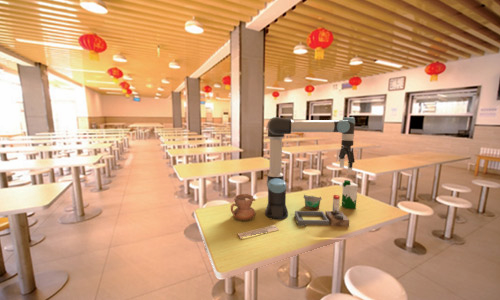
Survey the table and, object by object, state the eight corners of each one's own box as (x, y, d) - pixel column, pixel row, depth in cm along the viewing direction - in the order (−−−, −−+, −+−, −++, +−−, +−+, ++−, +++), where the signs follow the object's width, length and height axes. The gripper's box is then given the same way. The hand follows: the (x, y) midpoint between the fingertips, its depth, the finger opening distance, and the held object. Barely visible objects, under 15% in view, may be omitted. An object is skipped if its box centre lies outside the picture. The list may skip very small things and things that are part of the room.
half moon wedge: (301, 210, 147) (301, 196, 146) (303, 206, 153) (303, 193, 151) (319, 213, 142) (320, 199, 140) (321, 210, 147) (321, 196, 146)
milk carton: (339, 205, 155) (341, 179, 152) (352, 205, 155) (353, 179, 152) (344, 210, 147) (346, 182, 144) (357, 210, 147) (359, 182, 144)
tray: (298, 225, 125) (298, 220, 125) (294, 216, 138) (295, 211, 138) (329, 226, 125) (329, 221, 124) (322, 216, 138) (322, 211, 137)
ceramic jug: (250, 210, 147) (249, 191, 145) (261, 218, 134) (260, 197, 132) (226, 216, 138) (225, 196, 136) (236, 226, 126) (235, 203, 124)
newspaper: (273, 226, 126) (273, 223, 126) (279, 232, 120) (279, 229, 119) (236, 235, 116) (236, 232, 116) (241, 242, 110) (241, 239, 110)
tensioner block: (331, 227, 123) (332, 217, 122) (325, 218, 135) (325, 208, 134) (348, 228, 123) (349, 217, 122) (340, 218, 135) (341, 208, 134)
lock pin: (333, 220, 130) (334, 196, 127) (331, 218, 133) (332, 194, 131) (339, 220, 129) (340, 197, 127) (336, 218, 133) (338, 194, 131)
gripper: (361, 141, 132) (359, 174, 135) (345, 138, 156) (343, 165, 160) (349, 141, 132) (347, 174, 135) (335, 138, 157) (333, 165, 160)
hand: (345, 169), depth 147 cm, fingers open, 13 cm apart
